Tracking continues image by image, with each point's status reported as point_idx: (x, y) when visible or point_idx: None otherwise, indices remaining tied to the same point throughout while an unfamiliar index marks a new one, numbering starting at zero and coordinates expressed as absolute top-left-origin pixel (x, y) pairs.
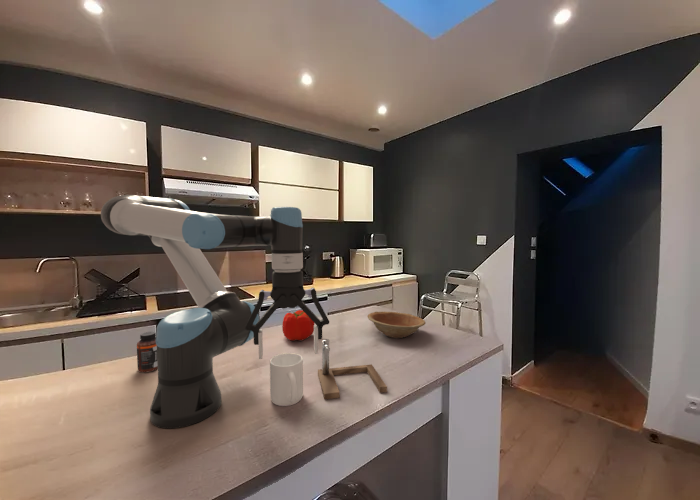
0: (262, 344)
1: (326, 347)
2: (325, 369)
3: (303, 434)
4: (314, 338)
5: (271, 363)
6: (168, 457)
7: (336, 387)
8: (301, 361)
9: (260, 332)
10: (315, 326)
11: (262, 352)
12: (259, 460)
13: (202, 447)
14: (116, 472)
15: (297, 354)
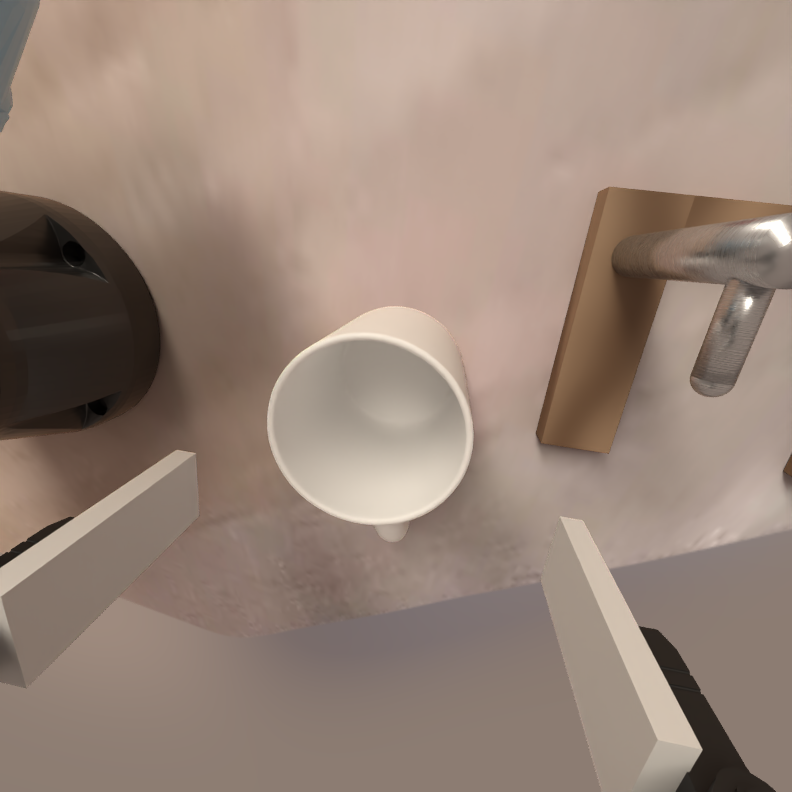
0: (141, 500)
1: (713, 376)
2: (637, 276)
3: (415, 566)
4: (581, 641)
5: (275, 460)
6: None
7: (614, 415)
8: (452, 491)
9: (15, 683)
10: (656, 780)
11: (181, 486)
12: (303, 600)
13: None
14: (25, 523)
15: (451, 386)
